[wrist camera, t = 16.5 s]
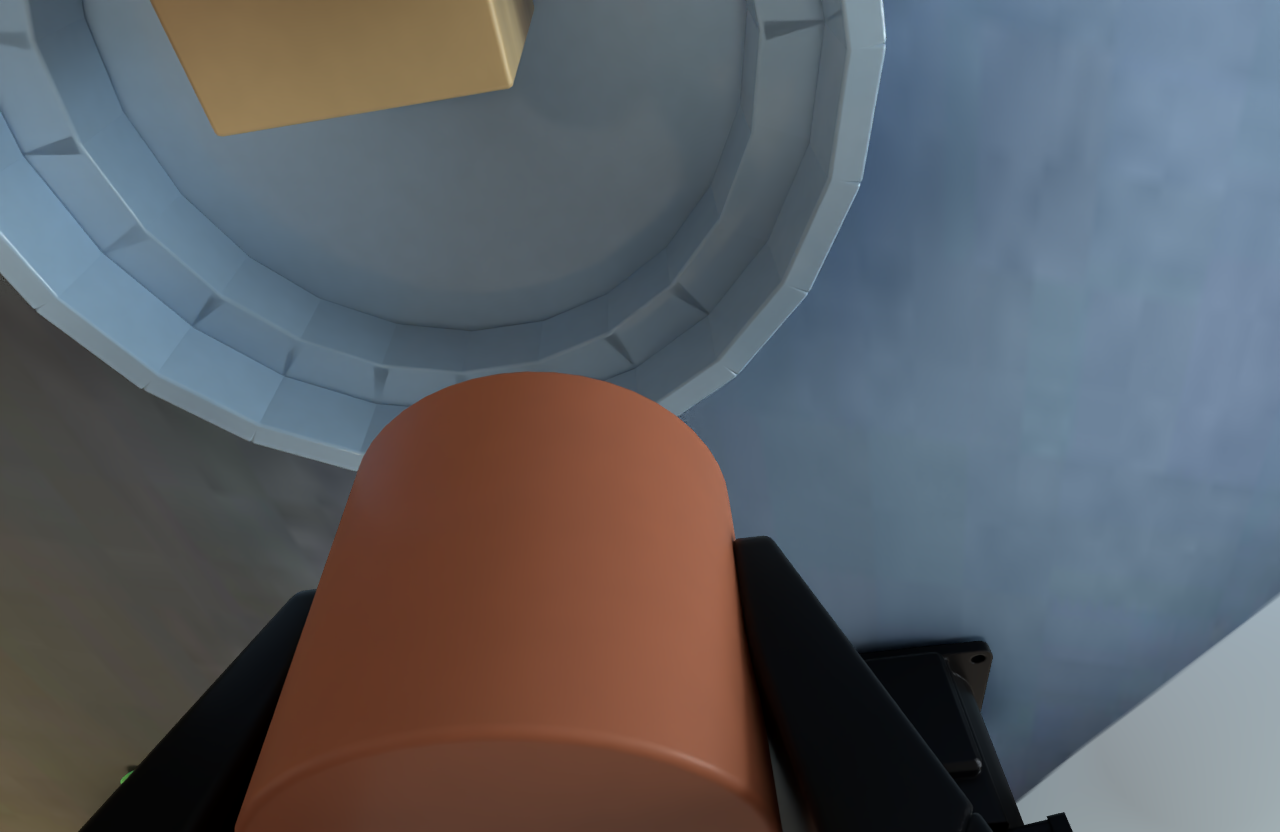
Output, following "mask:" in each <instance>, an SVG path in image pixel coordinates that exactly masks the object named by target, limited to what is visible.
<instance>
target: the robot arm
mask: <svg viewBox="0 0 1280 832" xmlns="http://www.w3.org/2000/svg"><path fill="white" fill-rule="evenodd" d="M733 551H734V558H735V565H736V572H737V578H738V585H739V591H740V597H741V604H742V610H743V617H744V623H745V629H746V635H747V641H748V646H749V651H750V656H751V661H752V665H753V669H754V674H755V678H756V682H757V686H758V690H759V694H760V699H761V704H762V709H763V715H764V720H765V725H766V731H767V737H768V743H769V749H770V755H771V762H772V768H773V774H774V780H775V786H776V792H777V799H778V805H779V811H780V817H781V823H782V829H783V832H1073V831H1072V829H1071V827H1070V824H1069V822H1068V820H1067V817H1066V815H1065V813H1064V812H1063V813H1058V814H1054V815H1050V816H1047V818H1048V820H1044V821H1039V822H1035V823H1031V824H1027V825H1024V823H1023V821H1022V818H1021V816H1020V813H1019V810H1018V808H1017V805H1016V803H1015V800H1014V798H1013V795H1012V792H1011V790H1010V787H1009V785H1008V782H1007V780H1006V777H1005V774H1004V772H1003V769H1002V767H1001V764H1000V762H999V759H998V756H997V754H996V751H995V749H994V746H993V744H992V741H991V738H990V736H989V733H988V731H987V728H986V726H985V723H984V720H983V718H982V715H981V713H980V712H981V707H982V703H983V698H984V694H985V690H986V685H987V681H988V676H989V672H990V667H991V663H992V659H993V656H992V653H991V650H990V648H989V646H988V644H987V643H986V642H982V641H973V642H964V643H955V644H946V645H937V646H928V647H919V648H911V649H902V650H893V651H884V652H875V653H866V654H859V653H858V652H857V651H856V649H855V648H854V647H853V645H852V644H851V643H850V641H849V640H848V639H847V637H846V636H845V635H844V633H843V632H842V631H841V629H840V628H839V627H838V625H837V624H836V623H835V621H834V620H833V619H832V617H831V616H830V615H829V613H828V612H827V611H826V609H825V608H824V607H823V606H822V604H821V603H820V602H819V600H818V599H817V598H816V596H815V595H814V594H813V592H812V591H811V590H810V588H809V587H808V586H807V584H806V583H805V582H804V580H803V579H802V578H801V576H800V575H799V574H798V572H797V571H796V570H795V568H794V567H793V566H792V564H791V563H790V562H789V560H788V559H787V558H786V556H785V555H784V554H783V552H782V551H781V550H780V548H779V547H778V546H777V544H776V543H775V542H774V541H773V540H772V539H771V538H770V537H768V536H757V537H748V538H740V539H736V540H735V541H734V542H733ZM316 590H317V589H313V590H305V591H301V592H299V593H297V594H295V595H294V596H293V597H292V598H291V599H290V600H289V601H288V602H287V603H286V604H285V605H284V606H283V607H282V608H281V609H280V611H279V612H278V613H277V614H276V615H275V616H274V617H273V618H272V619H271V620H270V621H269V623H268V624H267V625H266V626H265V627H264V628H263V629H262V630H261V631H260V632H259V634H258V635H257V636H256V637H255V638H254V639H253V640H252V641H251V642H250V643H249V645H248V646H247V647H246V648H245V649H244V650H243V651H242V652H241V653H240V654H239V656H238V657H237V658H236V659H235V660H234V661H233V662H232V663H231V664H230V665H229V667H228V668H227V669H226V670H225V671H224V672H223V673H222V674H221V675H220V676H219V678H218V679H217V680H216V681H215V682H214V683H213V684H212V685H211V686H210V687H209V689H208V690H207V691H206V692H205V693H204V694H203V695H202V696H201V697H200V698H199V700H198V701H197V702H196V703H195V704H194V705H193V706H192V707H191V708H190V709H189V710H188V712H187V713H186V714H185V715H184V716H183V717H182V718H181V719H180V720H179V721H178V723H177V724H176V725H175V726H174V727H173V728H172V729H171V730H170V731H169V732H168V734H167V735H166V736H165V737H164V738H163V739H162V740H161V741H160V742H159V743H158V745H157V746H156V747H155V748H154V749H153V750H152V751H151V752H150V753H149V754H148V756H147V757H146V758H145V759H144V760H143V761H142V762H141V763H140V764H139V765H138V767H137V768H136V769H135V770H134V771H133V772H132V773H131V774H130V775H129V776H128V778H127V779H126V780H125V781H124V782H123V783H122V784H121V785H120V786H119V787H118V789H117V790H116V791H115V792H114V793H113V794H112V795H111V796H110V797H109V798H108V800H107V801H106V802H105V803H104V804H103V805H102V806H101V807H100V808H99V809H98V810H97V812H96V813H95V814H94V815H93V816H92V817H91V818H90V819H89V820H88V821H87V823H86V824H85V825H84V826H83V827H82V828H81V829H80V830H79V831H78V832H235V824H236V821H237V819H238V816H239V813H240V810H241V807H242V804H243V801H244V798H245V795H246V793H247V790H248V787H249V784H250V781H251V778H252V775H253V772H254V770H255V767H256V764H257V761H258V758H259V755H260V752H261V749H262V746H263V744H264V741H265V738H266V735H267V732H268V729H269V726H270V723H271V720H272V718H273V715H274V712H275V709H276V706H277V703H278V700H279V697H280V694H281V692H282V689H283V686H284V683H285V680H286V677H287V674H288V671H289V668H290V666H291V663H292V660H293V657H294V654H295V651H296V648H297V645H298V642H299V640H300V637H301V634H302V631H303V628H304V625H305V622H306V619H307V616H308V614H309V611H310V608H311V605H312V602H313V599H314V596H315V593H316Z"/></svg>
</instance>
